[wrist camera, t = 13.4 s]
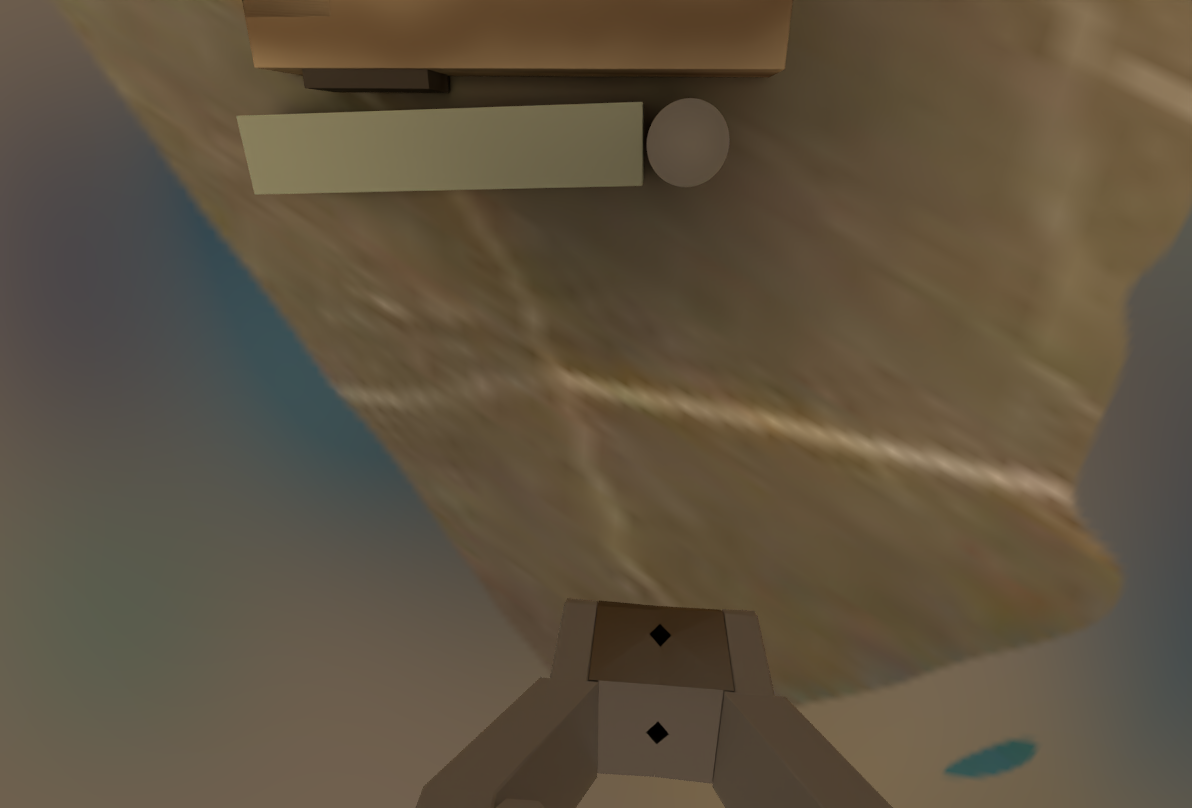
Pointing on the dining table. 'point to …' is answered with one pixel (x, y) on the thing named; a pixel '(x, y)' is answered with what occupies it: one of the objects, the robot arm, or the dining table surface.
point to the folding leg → (483, 148)
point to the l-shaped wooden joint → (512, 40)
